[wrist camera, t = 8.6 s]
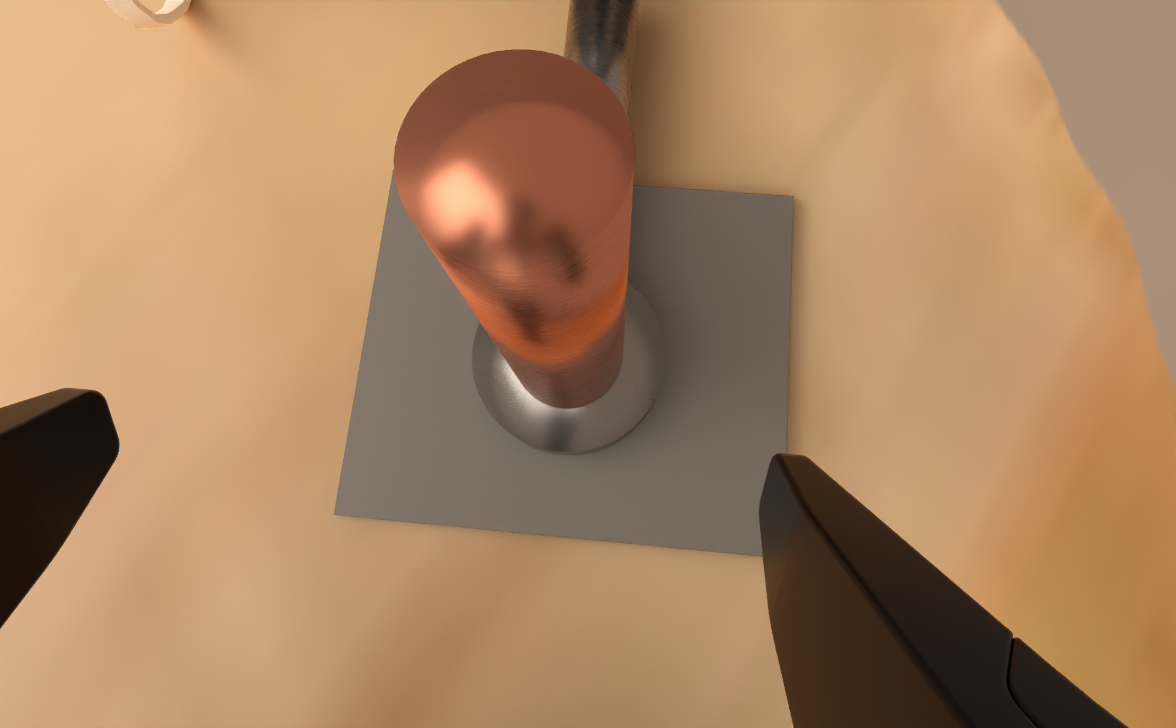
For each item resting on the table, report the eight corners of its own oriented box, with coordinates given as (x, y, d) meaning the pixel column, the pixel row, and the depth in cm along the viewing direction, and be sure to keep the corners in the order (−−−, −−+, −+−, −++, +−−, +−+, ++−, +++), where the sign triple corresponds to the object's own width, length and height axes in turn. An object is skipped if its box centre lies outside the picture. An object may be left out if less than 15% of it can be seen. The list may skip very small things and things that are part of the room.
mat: (780, 558, 21) (783, 558, 21) (338, 514, 22) (333, 515, 21) (790, 201, 24) (793, 196, 23) (396, 174, 24) (393, 169, 24)
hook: (655, 463, 21) (717, 381, 9) (467, 446, 22) (263, 342, 9) (688, 3, 25) (765, -524, 12) (528, -6, 25) (443, -527, 13)
